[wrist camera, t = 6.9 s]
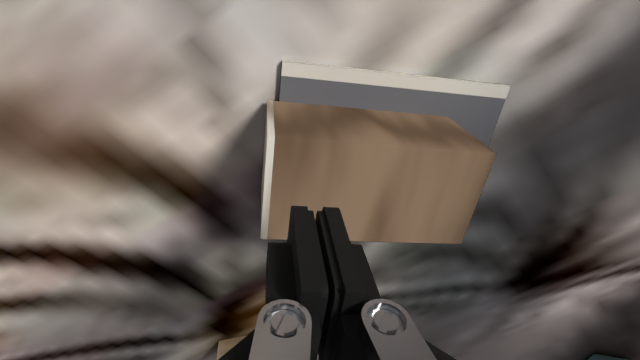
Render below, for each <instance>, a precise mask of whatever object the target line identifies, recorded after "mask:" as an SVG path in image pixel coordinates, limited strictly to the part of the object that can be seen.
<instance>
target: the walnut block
mask: <svg viewBox="0 0 640 360" xmlns="http://www.w3.org/2000/svg"><path fill="white" fill-rule="evenodd" d="M495 156H496V153H495V152H494V151H492V150H491V149H490V148H488V147H487V146H486V145H484V144H483V143H482V142H481V141H479V140H478V139H477V138H475V137H474V136H473V135H471V134H470V133H469V132H467V131H466V130H465V129H463V128H462V127H461V126H459V125H458V124H457V123H455V122H454V121H453V120H451V119H450V118H449V117H447V116H436V115H425V114H414V113H403V112H392V111H381V110H370V109H359V108H348V107H337V106H326V105H315V104H304V103H293V102H282V101H271V100H267V109H266V125H265V141H264V157H263V172H262V193H261V237H260V239H283V240H287V238H288V228H289V219H290V210H291V206H307V207H308V210H312V211H313V212H314V217H315V219H316V213H317V211H322V209H323V207H338V208H339V209H340V211H341V215H342V218H343V221H344V224H345V227H346V230H347V233H348V236H349V240H350V241H364V242H405V243H446V244H461V243H462V241H463V238H464V236H465V233H466V230H467V228H468V225H469V223H470V220H471V218H472V215H473V212H474V210H475V207H476V205H477V202H478V200H479V197H480V195H481V192H482V189H483V187H484V184H485V182H486V179H487V177H488V174H489V171H490V169H491V166H492V164H493V161H494V159H495Z"/></svg>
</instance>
